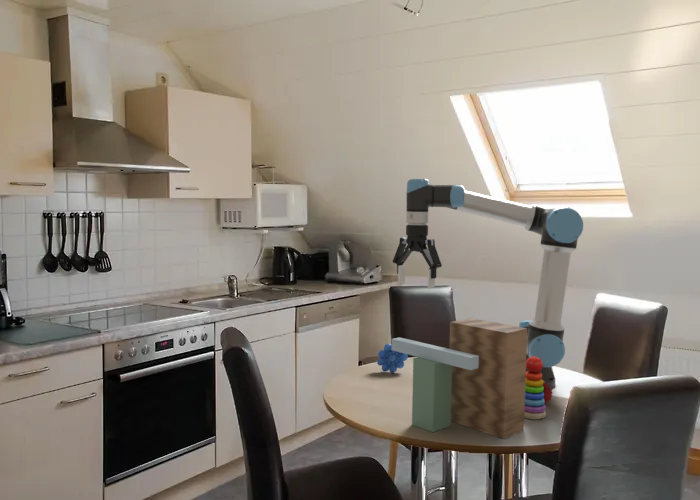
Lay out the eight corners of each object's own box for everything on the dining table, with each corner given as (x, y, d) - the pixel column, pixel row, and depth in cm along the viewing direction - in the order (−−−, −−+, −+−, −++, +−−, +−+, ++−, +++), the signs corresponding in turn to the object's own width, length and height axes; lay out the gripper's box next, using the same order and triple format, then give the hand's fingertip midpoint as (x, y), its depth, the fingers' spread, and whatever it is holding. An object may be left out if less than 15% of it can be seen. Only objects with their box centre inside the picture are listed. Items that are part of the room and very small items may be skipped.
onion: (552, 402, 212) (553, 379, 211) (551, 408, 207) (552, 383, 206) (533, 400, 214) (534, 377, 213) (532, 405, 208) (533, 381, 208)
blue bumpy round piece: (408, 370, 249) (408, 340, 248) (406, 375, 243) (407, 344, 242) (378, 368, 251) (379, 338, 250) (376, 373, 245) (376, 342, 244)
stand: (447, 420, 194) (450, 322, 192) (467, 412, 201) (470, 318, 198) (503, 438, 180) (507, 333, 177) (523, 430, 186) (527, 328, 184)
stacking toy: (515, 411, 203) (517, 353, 201) (540, 411, 203) (542, 353, 202) (524, 420, 195) (526, 359, 193) (550, 420, 195) (552, 359, 194)
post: (411, 424, 190) (413, 358, 188) (429, 418, 195) (431, 354, 194) (432, 432, 184) (434, 363, 182) (450, 425, 189) (452, 359, 188)
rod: (391, 350, 198) (391, 338, 197) (399, 348, 200) (399, 337, 200) (470, 370, 176) (471, 357, 175) (478, 368, 178) (478, 355, 178)
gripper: (383, 223, 226) (382, 282, 228) (438, 225, 208) (437, 290, 210) (397, 222, 231) (397, 281, 233) (453, 225, 213) (451, 288, 215)
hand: (416, 286), depth 221 cm, fingers open, 13 cm apart
